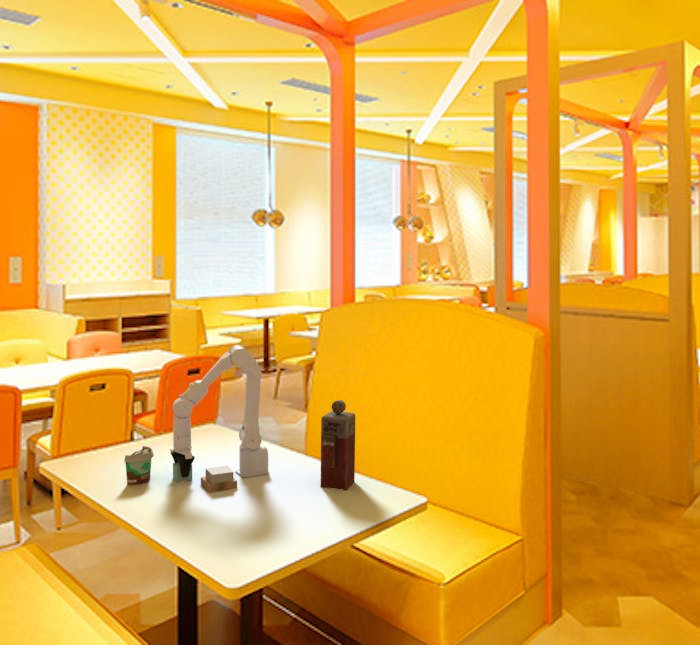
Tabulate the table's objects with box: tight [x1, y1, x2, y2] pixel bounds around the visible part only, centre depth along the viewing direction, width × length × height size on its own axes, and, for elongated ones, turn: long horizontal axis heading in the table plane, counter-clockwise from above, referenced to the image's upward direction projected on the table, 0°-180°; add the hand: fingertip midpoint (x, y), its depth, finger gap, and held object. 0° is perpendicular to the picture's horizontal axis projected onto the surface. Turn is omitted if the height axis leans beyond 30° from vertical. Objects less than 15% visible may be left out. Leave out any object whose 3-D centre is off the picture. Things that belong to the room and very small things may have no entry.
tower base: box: [200, 475, 238, 494], centre depth 219 cm, size 9×9×3 cm
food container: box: [123, 445, 155, 486], centre depth 223 cm, size 12×6×10 cm, turn 168°
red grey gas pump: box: [320, 399, 356, 491], centre depth 220 cm, size 9×11×28 cm
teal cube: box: [172, 462, 193, 483], centre depth 226 cm, size 5×5×5 cm
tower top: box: [205, 465, 234, 484], centre depth 218 cm, size 7×7×3 cm
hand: (182, 474), depth 226 cm, fingers closed on teal cube, 5 cm apart
